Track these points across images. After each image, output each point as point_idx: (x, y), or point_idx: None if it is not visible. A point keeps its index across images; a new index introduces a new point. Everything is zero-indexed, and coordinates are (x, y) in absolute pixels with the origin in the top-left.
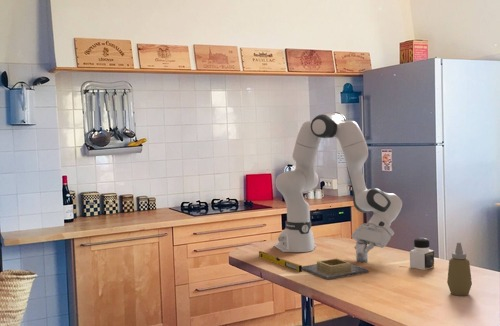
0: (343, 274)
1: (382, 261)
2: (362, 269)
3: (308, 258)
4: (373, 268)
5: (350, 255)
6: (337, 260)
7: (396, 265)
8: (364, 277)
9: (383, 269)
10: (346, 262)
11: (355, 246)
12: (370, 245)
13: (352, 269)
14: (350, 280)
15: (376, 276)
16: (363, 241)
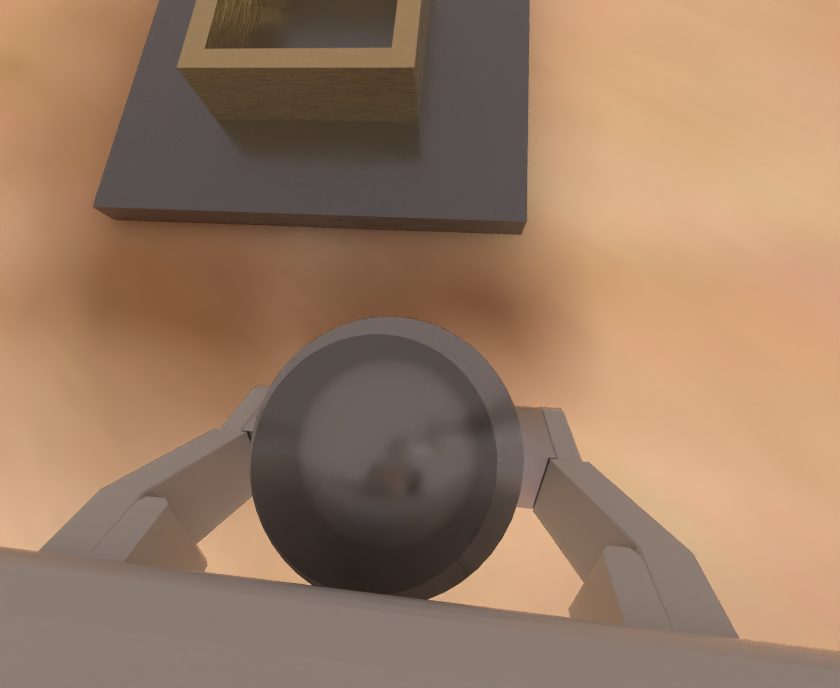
0: (158, 7)
1: None
2: (136, 176)
3: (830, 106)
4: (156, 329)
5: (738, 536)
6: (371, 59)
7: None
8: (57, 116)
9: (69, 374)
10: (220, 49)
11: (551, 421)
12: (126, 487)
13: (197, 119)
14: (88, 18)
15: (4, 191)
16: (296, 465)
